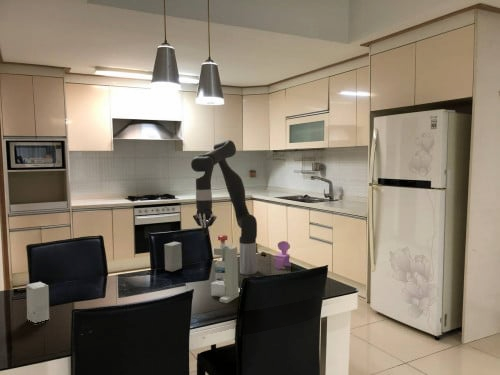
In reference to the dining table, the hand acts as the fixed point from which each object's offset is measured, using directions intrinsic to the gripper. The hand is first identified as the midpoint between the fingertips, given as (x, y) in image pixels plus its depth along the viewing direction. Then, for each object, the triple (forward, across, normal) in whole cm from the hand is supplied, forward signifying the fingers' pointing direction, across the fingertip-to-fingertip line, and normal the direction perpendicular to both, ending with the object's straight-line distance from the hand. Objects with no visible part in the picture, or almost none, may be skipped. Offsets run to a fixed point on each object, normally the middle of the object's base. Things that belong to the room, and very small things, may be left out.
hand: (205, 235), depth 187 cm
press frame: (+28, +12, 0) cm, 30 cm away
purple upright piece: (+28, +13, +56) cm, 64 cm away
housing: (+28, +8, 0) cm, 29 cm away
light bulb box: (+28, -3, +19) cm, 34 cm away
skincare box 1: (+28, -42, -58) cm, 77 cm away
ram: (+14, +10, 0) cm, 17 cm away
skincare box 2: (+28, -43, +25) cm, 57 cm away
